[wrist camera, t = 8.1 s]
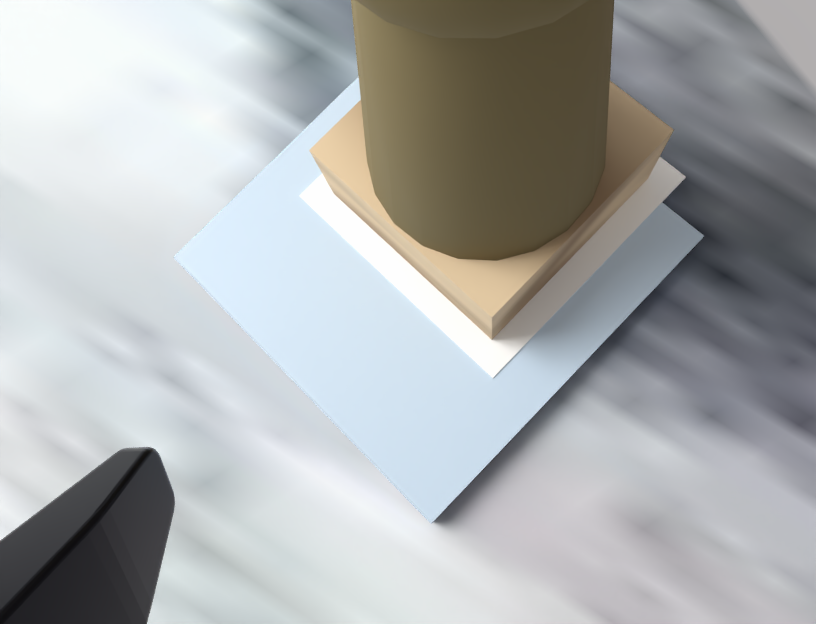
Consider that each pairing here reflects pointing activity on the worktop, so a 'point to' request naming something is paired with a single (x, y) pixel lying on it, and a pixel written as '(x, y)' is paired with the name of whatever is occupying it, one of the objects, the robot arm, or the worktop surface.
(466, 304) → the oak block
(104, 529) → the robot arm
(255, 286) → the pale blue tile
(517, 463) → the worktop surface
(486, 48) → the cork
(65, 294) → the worktop surface
